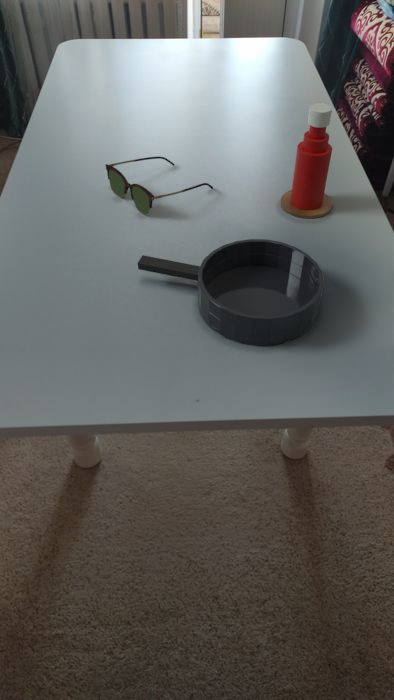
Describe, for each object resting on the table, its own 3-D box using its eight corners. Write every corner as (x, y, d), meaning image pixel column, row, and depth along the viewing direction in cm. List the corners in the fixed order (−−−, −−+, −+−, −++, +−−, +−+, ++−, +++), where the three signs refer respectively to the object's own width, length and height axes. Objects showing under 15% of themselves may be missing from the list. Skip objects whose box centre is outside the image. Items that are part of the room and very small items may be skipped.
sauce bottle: (324, 195, 98) (341, 102, 86) (319, 212, 94) (336, 117, 82) (293, 191, 99) (306, 98, 87) (287, 207, 95) (299, 112, 83)
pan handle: (203, 273, 80) (203, 266, 79) (198, 281, 78) (198, 275, 78) (143, 261, 82) (142, 254, 81) (138, 269, 80) (137, 262, 80)
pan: (326, 277, 83) (332, 250, 79) (306, 357, 72) (312, 330, 68) (217, 257, 87) (218, 230, 83) (182, 330, 75) (181, 302, 72)
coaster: (335, 195, 99) (335, 192, 98) (327, 222, 93) (328, 219, 93) (285, 187, 101) (286, 184, 100) (275, 213, 95) (275, 210, 95)
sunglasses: (106, 188, 101) (104, 162, 98) (169, 168, 108) (170, 143, 105) (153, 221, 93) (153, 194, 90) (217, 197, 101) (220, 172, 97)
